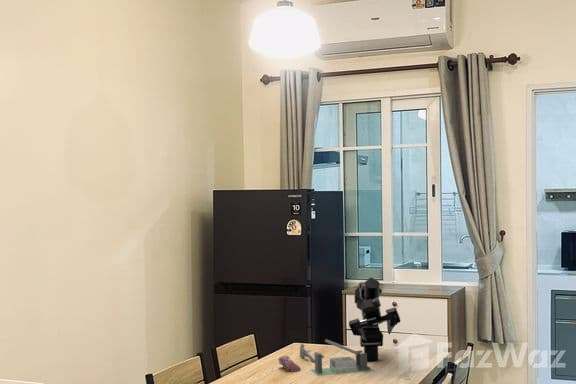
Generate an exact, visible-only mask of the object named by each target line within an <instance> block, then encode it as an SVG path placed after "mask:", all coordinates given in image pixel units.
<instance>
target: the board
mask: <svg viewBox="0 0 576 384" xmlns="http://www.w3.org/2000/svg"><path fill="white" fill-rule="evenodd" d="M310 371H311V372H312V373H314V374H315V375H316V376H317V377H318V376H329V375H340V374H341V375H342V374H350V373H359V372H373V371H374V369H372V368H371V367H370V370H361V371H360V370H358V369H357V371H354V372H343V373H335V372H334V371H333V370H331V369H330V367H326V368H325V367H322V373H317V372H316V371H315V368H314V369H310Z"/></svg>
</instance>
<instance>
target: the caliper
mask: <svg viewBox="0 0 576 384" xmlns="http://www.w3.org/2000/svg"><path fill="white" fill-rule="evenodd" d="M299 357H302V358H303V359H306V358H308V359H310V361H312V362H313V364H315V355H312V354H311V353H310V350H308V349H307V348H306V347H305V344H304V343H300V346H299ZM302 358H301V359H302Z"/></svg>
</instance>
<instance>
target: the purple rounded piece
mask: <svg viewBox="0 0 576 384" xmlns="http://www.w3.org/2000/svg"><path fill="white" fill-rule="evenodd" d="M278 364H279V365H281V366H282V367H283V369H286V371H289V372H291V371H293V372H301V367H300V366H299V365H298V364H297V363H295V362H294V360H293V359H291V358H290V356H288V355H282V356H280V357H279V358H278Z"/></svg>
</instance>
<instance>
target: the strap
mask: <svg viewBox="0 0 576 384" xmlns="http://www.w3.org/2000/svg"><path fill="white" fill-rule="evenodd" d="M324 343H327V344H328V345H332V346H334V347H337V348H338V349H341V350H345V351H347V352H349V353H352V354H354V355H355V356H356V355H358V356H360V353H361V352H357V351H358V350H355V349H351V348H350V347H347V346H344V345H342V344H339V343H337V342H334V341H331V340H329V339H327V338H325V340H324Z"/></svg>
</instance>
